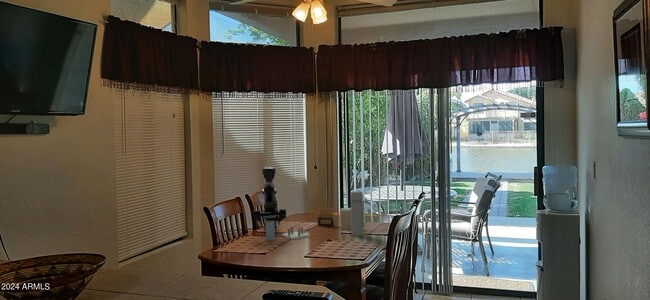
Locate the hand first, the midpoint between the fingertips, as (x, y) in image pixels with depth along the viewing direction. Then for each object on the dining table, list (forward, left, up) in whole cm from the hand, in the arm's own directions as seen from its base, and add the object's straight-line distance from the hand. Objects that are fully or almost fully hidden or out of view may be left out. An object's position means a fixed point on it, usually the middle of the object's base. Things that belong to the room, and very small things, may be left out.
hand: (270, 226), depth 272 cm
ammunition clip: (+8, +49, -8) cm, 50 cm away
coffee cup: (+25, +47, -7) cm, 53 cm away
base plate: (+9, +13, -7) cm, 17 cm away
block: (0, +1, -7) cm, 7 cm away
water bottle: (+41, +31, -7) cm, 51 cm away
